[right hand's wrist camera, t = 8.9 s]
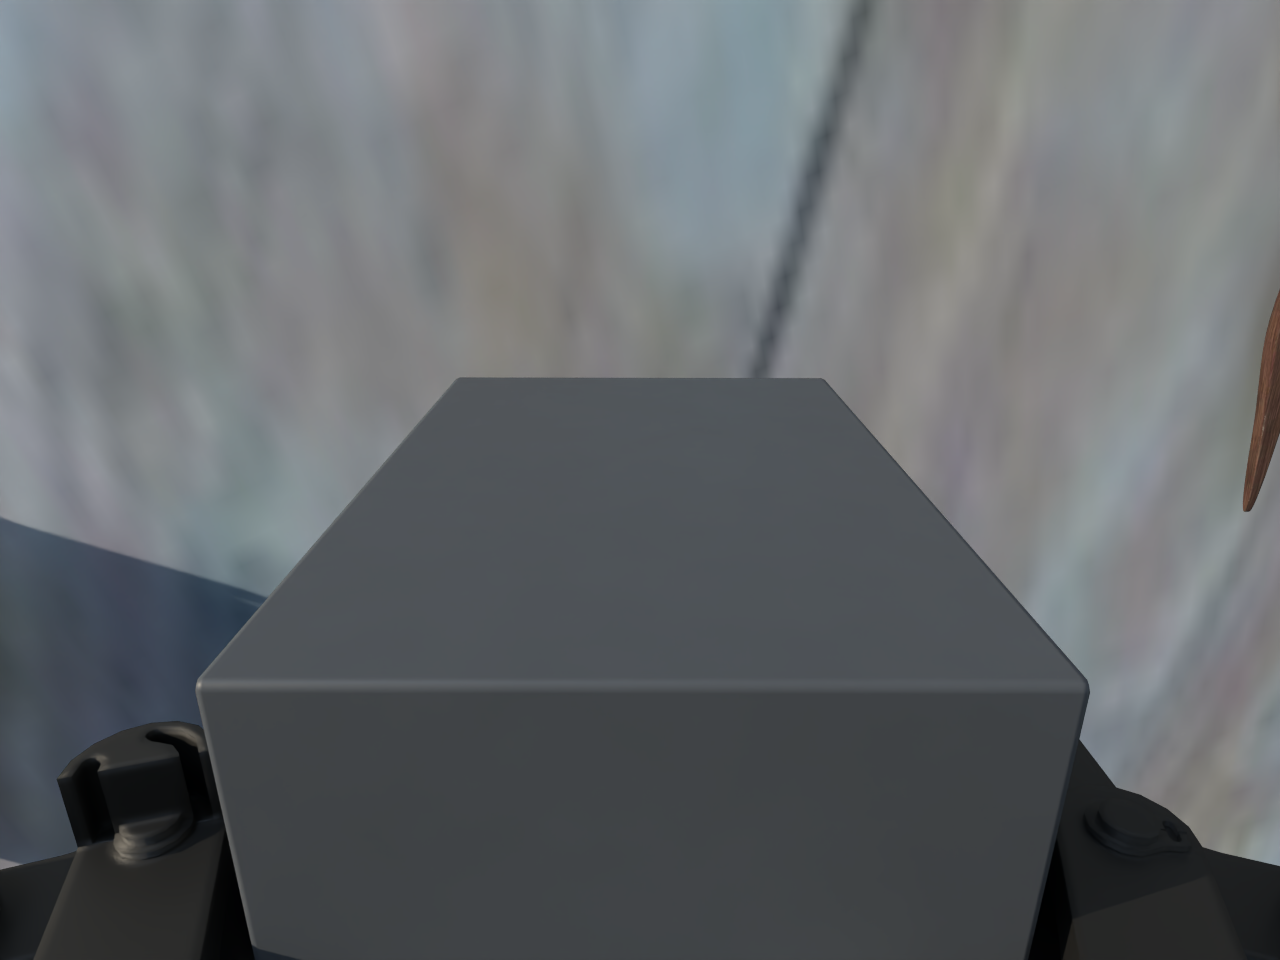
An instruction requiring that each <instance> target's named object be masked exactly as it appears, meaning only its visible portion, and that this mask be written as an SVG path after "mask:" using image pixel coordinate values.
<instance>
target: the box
mask: <svg viewBox="0 0 1280 960" xmlns="http://www.w3.org/2000/svg"><path fill="white" fill-rule="evenodd" d="M195 692H196V697H197V701H198V706H199V710H200V715H201V719H202V724H203V728H204V733H205V737H206V742H207V746H208V751H209V755H210V760H211V764H212V769H213V773H214V778H215V782H216V787H217V791H218V796H219V800H220V805H221V809H222V814H223V818H224V823H225V827H226V832H227V836H228V841H229V845H230V849H231V854H232V858H233V863H234V867H235V872H236V876H237V881H238V885H239V890H240V894H241V899H242V903H243V908H244V912H245V917H246V921H247V926H248V930H249V935H250V939H251V944H252V948H253V953H254V957H255V960H1028V958H1029V953H1030V949H1031V945H1032V940H1033V936H1034V932H1035V927H1036V923H1037V919H1038V915H1039V910H1040V906H1041V902H1042V897H1043V893H1044V889H1045V884H1046V880H1047V876H1048V871H1049V867H1050V863H1051V858H1052V854H1053V850H1054V845H1055V841H1056V837H1057V833H1058V828H1059V824H1060V820H1061V815H1062V811H1063V807H1064V802H1065V798H1066V794H1067V789H1068V785H1069V781H1070V776H1071V772H1072V768H1073V763H1074V759H1075V755H1076V750H1077V746H1078V742H1079V738H1080V733H1081V729H1082V725H1083V720H1084V716H1085V712H1086V707H1087V703H1088V699H1089V694H1090V689H1089V684H1088V681H1087V679H1086V678H1085V677H1084V676H1083V675H1082V673H1081V672H1080V671H1079V670H1078V669H1077V668H1076V667H1075V665H1074V664H1073V663H1072V662H1071V661H1070V660H1069V659H1068V657H1067V656H1066V655H1065V654H1064V653H1063V652H1062V651H1061V649H1060V648H1059V647H1058V646H1057V645H1056V644H1055V643H1054V641H1053V640H1052V639H1051V638H1050V637H1049V636H1048V635H1047V633H1046V632H1045V631H1044V630H1043V629H1042V628H1041V627H1040V625H1039V624H1038V623H1037V622H1036V621H1035V620H1034V619H1033V617H1032V616H1031V615H1030V614H1029V613H1028V612H1027V611H1026V609H1025V608H1024V607H1023V606H1022V605H1021V604H1020V603H1019V601H1018V600H1017V599H1016V598H1015V597H1014V596H1013V595H1012V593H1011V592H1010V591H1009V590H1008V589H1007V588H1006V587H1005V586H1004V584H1003V583H1002V582H1001V581H1000V580H999V579H998V578H997V576H996V575H995V574H994V573H993V572H992V571H991V570H990V568H989V567H988V566H987V565H986V564H985V563H984V562H983V560H982V559H981V558H980V557H979V556H978V555H977V554H976V552H975V551H974V550H973V549H972V548H971V547H970V546H969V544H968V543H967V542H966V541H965V540H964V539H963V538H962V536H961V535H960V534H959V533H958V532H957V531H956V530H955V528H954V527H953V526H952V525H951V524H950V523H949V522H948V520H947V519H946V518H945V517H944V516H943V515H942V514H941V512H940V511H939V510H938V509H937V508H936V507H935V506H934V504H933V503H932V502H931V501H930V500H929V499H928V498H927V496H926V495H925V494H924V493H923V492H922V491H921V490H920V488H919V487H918V486H917V485H916V484H915V483H914V482H913V480H912V479H911V478H910V477H909V476H908V475H907V474H906V472H905V471H904V470H903V469H902V468H901V467H900V466H899V464H898V463H897V462H896V461H895V460H894V459H893V458H892V456H891V455H890V454H889V453H888V452H887V451H886V450H885V448H884V447H883V446H882V445H881V444H880V443H879V442H878V440H877V439H876V438H875V437H874V436H873V435H872V434H871V432H870V431H869V430H868V429H867V428H866V427H865V426H864V424H863V423H862V422H861V421H860V420H859V419H858V418H857V416H856V415H855V414H854V413H853V412H852V411H851V410H850V408H849V407H848V406H847V405H846V404H845V403H844V402H843V400H842V399H841V398H840V397H839V396H838V395H837V394H836V392H835V391H834V390H833V389H832V388H831V387H830V386H829V384H828V383H827V382H826V381H825V380H824V379H821V378H458V379H456V380H455V381H454V382H453V384H452V385H451V386H450V387H449V388H448V389H447V391H446V392H445V393H444V394H443V395H442V396H441V397H440V399H439V400H438V401H437V402H436V403H435V404H434V406H433V407H432V408H431V409H430V410H429V411H428V413H427V414H426V415H425V416H424V417H423V418H422V420H421V421H420V422H419V423H418V424H417V425H416V426H415V428H414V429H413V430H412V431H411V432H410V433H409V435H408V436H407V437H406V438H405V439H404V440H403V442H402V443H401V444H400V445H399V446H398V447H397V449H396V450H395V451H394V452H393V453H392V454H391V455H390V457H389V458H388V459H387V460H386V461H385V462H384V464H383V465H382V466H381V467H380V468H379V469H378V471H377V472H376V473H375V474H374V475H373V476H372V478H371V479H370V480H369V481H368V482H367V483H366V484H365V486H364V487H363V488H362V489H361V490H360V491H359V493H358V494H357V495H356V496H355V497H354V498H353V500H352V501H351V502H350V503H349V504H348V505H347V507H346V508H345V509H344V510H343V511H342V512H341V513H340V515H339V516H338V517H337V518H336V519H335V520H334V522H333V523H332V524H331V525H330V526H329V527H328V529H327V530H326V531H325V532H324V533H323V534H322V536H321V537H320V538H319V539H318V540H317V541H316V542H315V544H314V545H313V546H312V547H311V548H310V549H309V551H308V552H307V553H306V554H305V555H304V556H303V558H302V559H301V560H300V561H299V562H298V563H297V565H296V566H295V567H294V568H293V569H292V570H291V571H290V573H289V574H288V575H287V576H286V577H285V578H284V580H283V581H282V582H281V583H280V584H279V585H278V587H277V588H276V589H275V590H274V591H273V592H272V594H271V595H270V596H269V597H268V598H267V599H266V600H265V602H264V603H263V604H262V605H261V606H260V607H259V609H258V610H257V611H256V612H255V613H254V614H253V616H252V617H251V618H250V619H249V620H248V621H247V623H246V624H245V625H244V626H243V627H242V628H241V629H240V631H239V632H238V633H237V634H236V635H235V636H234V638H233V639H232V640H231V641H230V642H229V643H228V645H227V646H226V647H225V648H224V649H223V650H222V652H221V653H220V654H219V655H218V656H217V657H216V658H215V660H214V661H213V662H212V663H211V664H210V665H209V667H208V668H207V669H206V670H205V671H204V672H203V674H202V675H201V676H200V677H199V678H198V680H197V684H196V690H195Z"/></svg>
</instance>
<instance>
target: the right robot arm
mask: <svg viewBox="0 0 1280 960" xmlns="http://www.w3.org/2000/svg"><path fill="white" fill-rule="evenodd" d="M57 781H58V785H59V788H60V791H61V794H62V798H63V801H64V804H65V807H66V810H67V814H68V817H69V820H70V823H71V827H72V830H73V833H74V836H75V839H76V843H77V846H78V849H77V851H76V852H72V853H69V854H66V855H62V856H58V857H54V858H50V859H45V860H41V861H37V862H32V863H28V864H23V865H19V866H15V867H10V868H6V869H2V870H0V960H255V957H254V953H253V948H252V944H251V939H250V935H249V930H248V926H247V921H246V917H245V912H244V908H243V903H242V899H241V894H240V890H239V885H238V881H237V876H236V872H235V867H234V863H233V858H232V854H231V849H230V845H229V841H228V836H227V832H226V827H225V823H224V818H223V814H222V809H221V805H220V800H219V796H218V791H217V787H216V782H215V778H214V773H213V769H212V764H211V760H210V755H209V751H208V746H207V742H206V737H205V733H204V730H203V729H202V728H201V727H200V726H198V725H194V724H189V723H184V722H180V721H172V722H158V723H149V724H146V725H142V726H138V727H134V728H131V729H127V730H123V731H121V732H119V733H116V734H114V735H112V736H110V737H108V738H106V739H104V740H101V741H99V742H97V743H95V744H93V745H92V746H91V747H89V748H88V749H86V750H85V751H84V752H82V753H81V754H80V755H78V756H77V757H75V758H74V759H73V760H71V761H70V763H69V764H68V765H67V767H66V768H65V769H64V770H63V772H62V773H61V774H60V776H59V777H58V778H57ZM1028 960H1280V866H1277V865H1272V864H1268V863H1263V862H1259V861H1255V860H1250V859H1246V858H1242V857H1237V856H1233V855H1228V854H1224V853H1220V852H1217V851H1213V850H1210V849H1207V848H1203V847H1202V846H1201V844H1200V843H1199V841H1198V840H1197V838H1196V837H1195V835H1194V834H1193V832H1192V831H1191V829H1190V828H1189V827H1188V826H1187V825H1186V824H1185V823H1183V822H1182V821H1181V820H1180V819H1179V818H1177V817H1176V816H1175V815H1174V814H1173V813H1171V812H1170V811H1169V810H1168V809H1166V808H1164V807H1162V806H1161V805H1159V804H1157V803H1155V802H1153V801H1151V800H1149V799H1147V798H1145V797H1143V796H1142V795H1139V794H1136V793H1132V792H1129V791H1126V790H1123V789H1119V788H1116V787H1115V785H1114V784H1113V783H1112V781H1111V780H1110V779H1109V778H1108V776H1107V775H1106V774H1105V772H1104V771H1103V770H1102V768H1101V767H1100V766H1099V765H1098V763H1097V762H1096V761H1095V759H1094V758H1093V757H1092V755H1091V754H1090V753H1089V751H1088V750H1087V749H1086V748H1085V746H1084V745H1083V744H1082V742H1081V741H1080V740H1079V742H1078V746H1077V750H1076V755H1075V759H1074V763H1073V768H1072V772H1071V776H1070V781H1069V785H1068V789H1067V794H1066V798H1065V802H1064V807H1063V811H1062V815H1061V820H1060V824H1059V828H1058V833H1057V837H1056V841H1055V845H1054V850H1053V854H1052V858H1051V863H1050V867H1049V871H1048V876H1047V880H1046V884H1045V889H1044V893H1043V897H1042V902H1041V906H1040V910H1039V915H1038V919H1037V923H1036V927H1035V932H1034V936H1033V940H1032V945H1031V949H1030V953H1029V958H1028Z"/></svg>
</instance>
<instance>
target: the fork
mask: <svg viewBox="0 0 1280 960" xmlns="http://www.w3.org/2000/svg"><path fill="white" fill-rule="evenodd" d="M1279 434H1280V290H1279V293H1278V296H1277V299H1276V302H1275V305H1274V308H1273V311H1272V314H1271V318H1270V321H1269V325H1268V328H1267V333H1266V337H1265V342H1264V348H1263V354H1262V361H1261V370H1260V378H1259V387H1258V396H1257V405H1256V413H1255V420H1254V427H1253V433H1252V439H1251V445H1250V451H1249V457H1248V464H1247V471H1246V478H1245V486H1244V496H1243V511H1244V512H1249V511H1250V510H1251V509H1252V507H1253V505H1254V503H1255V501H1256V499H1257V496H1258V494H1259V491H1260V488H1261V486H1262V483H1263V481H1264V478H1265V475H1266V472H1267V469H1268V466H1269V463H1270V461H1271V458H1272V455H1273V452H1274V449H1275V446H1276V443H1277V440H1278V437H1279Z"/></svg>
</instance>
